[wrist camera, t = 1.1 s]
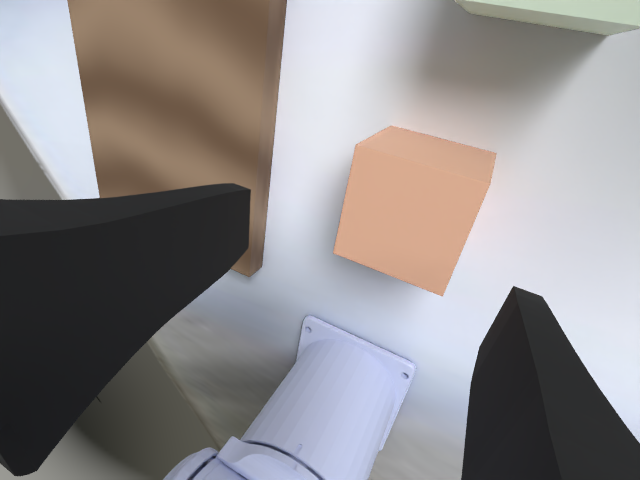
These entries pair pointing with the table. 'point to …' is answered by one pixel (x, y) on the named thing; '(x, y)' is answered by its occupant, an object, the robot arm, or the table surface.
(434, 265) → the terracotta block
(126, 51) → the walnut base
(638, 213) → the table surface
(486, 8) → the sage block
